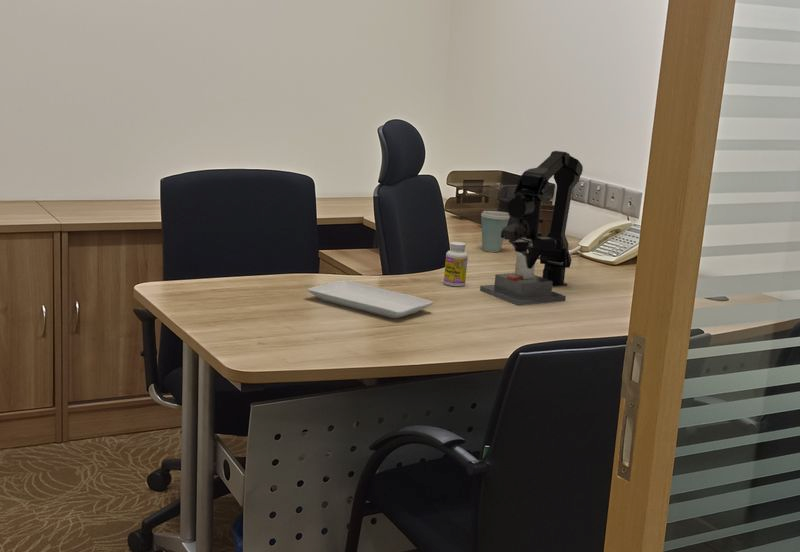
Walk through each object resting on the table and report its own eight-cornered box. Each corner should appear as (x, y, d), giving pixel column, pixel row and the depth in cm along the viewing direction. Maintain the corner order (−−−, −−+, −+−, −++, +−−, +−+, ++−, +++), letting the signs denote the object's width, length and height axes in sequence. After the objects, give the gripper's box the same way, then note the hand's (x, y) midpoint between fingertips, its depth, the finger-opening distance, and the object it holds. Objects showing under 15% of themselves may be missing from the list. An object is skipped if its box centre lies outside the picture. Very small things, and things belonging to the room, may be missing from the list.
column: (526, 285, 279) (529, 250, 276) (535, 288, 275) (539, 252, 273) (510, 286, 276) (514, 250, 273) (519, 289, 272) (523, 253, 270)
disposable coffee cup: (472, 248, 348) (476, 208, 344) (497, 247, 352) (500, 208, 349) (486, 253, 338) (490, 213, 335) (511, 253, 343) (515, 213, 340)
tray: (397, 324, 236) (398, 311, 235) (304, 300, 253) (305, 287, 252) (434, 313, 249) (435, 301, 248) (343, 291, 267) (344, 279, 266)
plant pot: (518, 248, 353) (523, 207, 350) (525, 242, 368) (529, 202, 365) (561, 254, 349) (566, 211, 345) (566, 247, 364) (571, 206, 360)
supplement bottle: (439, 284, 283) (443, 243, 280) (448, 280, 289) (452, 240, 286) (459, 288, 280) (463, 246, 277) (468, 284, 286) (472, 243, 283)
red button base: (526, 287, 288) (528, 267, 287) (565, 301, 273) (567, 280, 272) (479, 290, 279) (481, 270, 277) (517, 305, 264) (520, 284, 263)
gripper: (489, 210, 274) (484, 261, 277) (530, 220, 259) (524, 275, 262) (518, 209, 280) (513, 260, 283) (560, 220, 265) (554, 273, 268)
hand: (525, 266), depth 274 cm, fingers closed on column, 4 cm apart
